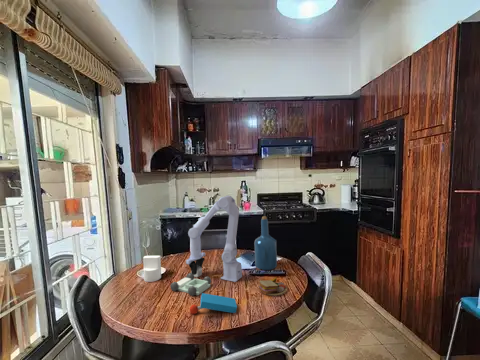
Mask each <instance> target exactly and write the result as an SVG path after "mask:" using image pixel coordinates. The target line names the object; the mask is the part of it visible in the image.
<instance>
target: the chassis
mask: <svg viewBox="0 0 480 360" xmlns="http://www.w3.org/2000/svg"><path fill="white" fill-rule="evenodd" d="M211 284H212V278H211V277H210V276H208V275H207V276H205V277H203V279H199V278H197V277H194V275H193V274H192V273H191V272H189V273H187V274H186V276H184V277H183V278H181V279H180V280H178V281H177V282H176V281H173V282H172V283H170V289H171V291H172V292H176V291H179V292H183V293H187V294H188V295H189V296H190V297H193V296H199V295H202V293H204V291H207V290H208V289H209V288H211Z"/></svg>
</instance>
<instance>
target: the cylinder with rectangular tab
mask: <svg viewBox="0 0 480 360" xmlns="http://www.w3.org/2000/svg"><path fill="white" fill-rule="evenodd" d="M161 259H162V258H161V255H144V256H143V258H142V260H143V262H142V263H143V280H144V281H145V282H147V283H153V282H156V281H159V280H160V279H161V278H162V266H161V265H162V261H161Z"/></svg>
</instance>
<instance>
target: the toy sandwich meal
mask: <svg viewBox="0 0 480 360" xmlns="http://www.w3.org/2000/svg"><path fill="white" fill-rule="evenodd" d="M277 279H278V277H277V276H275V277H274V278H271V279H268V280H259V282H258V283H259V286H258V290H259V291H260V292H261V293H263V294H265V295H267V296H271V297H278V295H279V296H282V295H284V294H285V293H286V292H287V289H288V288H287V286H286V285H285V283H284V282H282V281H281V282H277Z"/></svg>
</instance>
